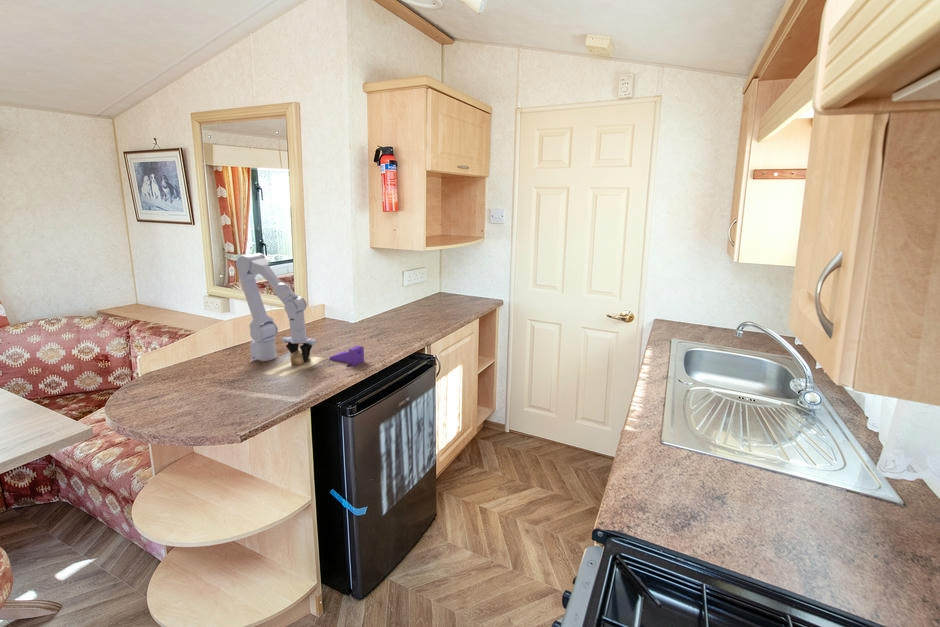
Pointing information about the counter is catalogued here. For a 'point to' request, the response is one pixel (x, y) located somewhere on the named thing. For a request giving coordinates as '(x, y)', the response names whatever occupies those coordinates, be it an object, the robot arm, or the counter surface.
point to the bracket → (350, 356)
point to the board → (292, 367)
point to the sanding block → (297, 358)
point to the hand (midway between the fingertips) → (301, 360)
